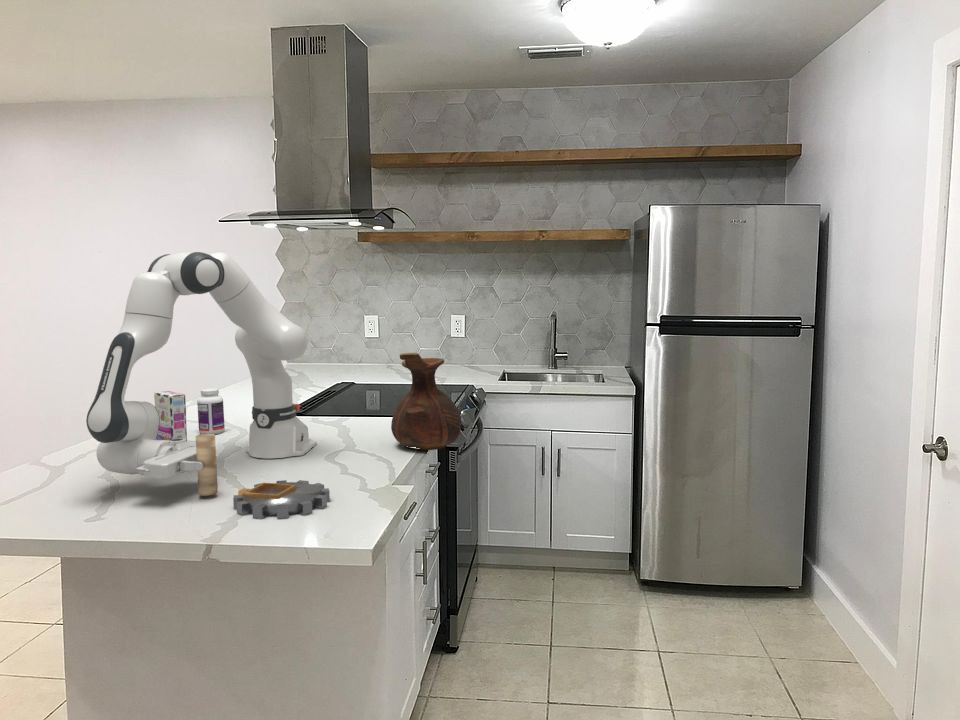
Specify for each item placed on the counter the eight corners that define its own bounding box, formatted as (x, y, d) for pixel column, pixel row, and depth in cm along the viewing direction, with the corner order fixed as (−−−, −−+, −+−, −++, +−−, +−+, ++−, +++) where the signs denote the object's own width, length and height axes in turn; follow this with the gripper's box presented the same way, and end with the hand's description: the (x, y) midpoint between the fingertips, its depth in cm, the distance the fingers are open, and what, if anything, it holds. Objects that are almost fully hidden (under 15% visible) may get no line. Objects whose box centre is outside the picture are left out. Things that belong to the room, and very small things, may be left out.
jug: (379, 442, 241) (377, 347, 237) (441, 435, 251) (441, 343, 247) (408, 458, 222) (407, 354, 218) (474, 449, 232) (474, 350, 229)
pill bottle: (224, 429, 260) (223, 387, 258) (224, 434, 252) (222, 390, 250) (199, 431, 257) (197, 388, 255) (198, 436, 250) (196, 392, 248)
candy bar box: (188, 447, 235) (186, 394, 233) (172, 450, 231) (169, 396, 229) (171, 441, 242) (168, 390, 240) (155, 444, 239) (153, 392, 237)
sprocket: (265, 487, 194) (264, 474, 194) (344, 493, 188) (344, 480, 188) (214, 514, 173) (213, 499, 173) (302, 522, 168) (301, 507, 167)
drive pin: (205, 489, 189) (202, 433, 187) (221, 490, 188) (218, 434, 186) (194, 494, 185) (191, 437, 183) (210, 496, 183) (207, 438, 182)
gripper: (129, 456, 178) (181, 460, 174) (185, 436, 198) (233, 439, 194) (131, 483, 179) (183, 487, 175) (186, 460, 198) (234, 464, 195)
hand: (209, 462), depth 185 cm, fingers closed on drive pin, 4 cm apart
